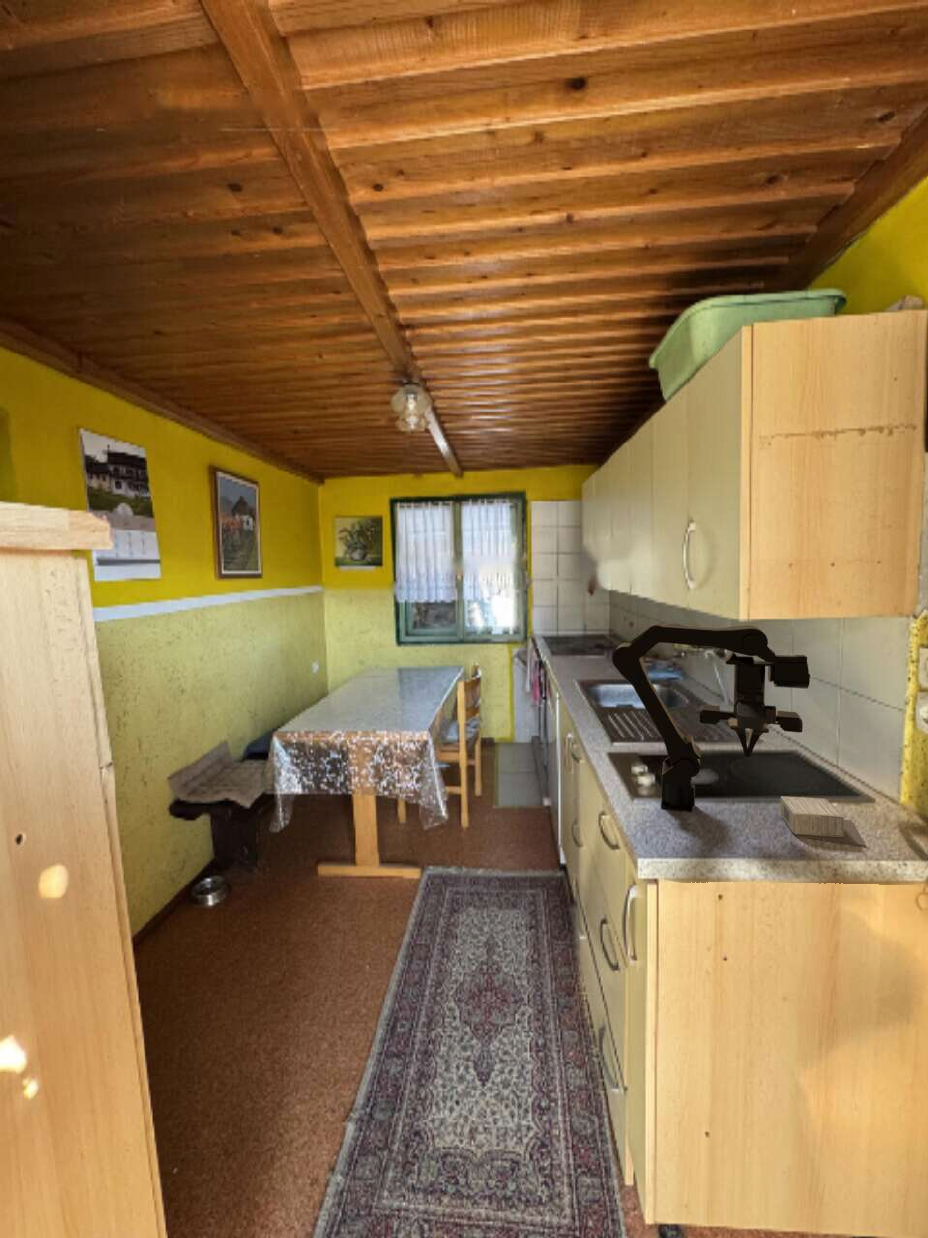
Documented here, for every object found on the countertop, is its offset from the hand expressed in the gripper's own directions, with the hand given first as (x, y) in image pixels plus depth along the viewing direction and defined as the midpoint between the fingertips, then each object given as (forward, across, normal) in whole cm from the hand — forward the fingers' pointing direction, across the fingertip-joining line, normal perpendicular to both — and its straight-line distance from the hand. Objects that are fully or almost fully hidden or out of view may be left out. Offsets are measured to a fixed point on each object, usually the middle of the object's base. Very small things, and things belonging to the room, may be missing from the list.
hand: (747, 756), depth 108 cm
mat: (+12, +14, -2) cm, 19 cm away
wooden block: (+10, +7, -3) cm, 13 cm away
